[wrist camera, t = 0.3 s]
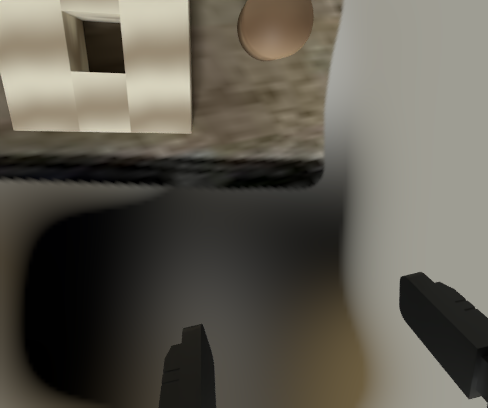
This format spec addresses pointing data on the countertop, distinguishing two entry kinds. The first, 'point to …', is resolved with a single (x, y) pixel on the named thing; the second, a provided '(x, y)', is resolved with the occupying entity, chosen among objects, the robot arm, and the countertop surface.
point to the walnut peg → (274, 27)
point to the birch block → (93, 83)
